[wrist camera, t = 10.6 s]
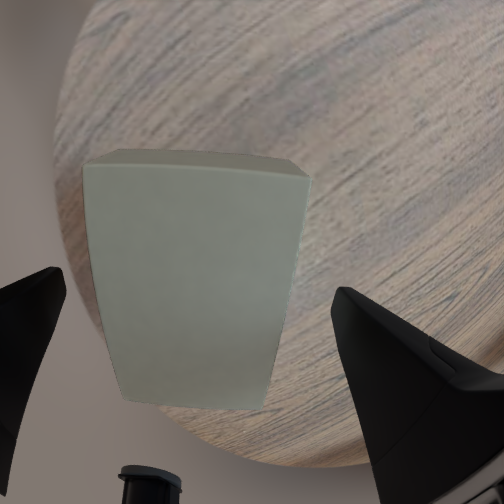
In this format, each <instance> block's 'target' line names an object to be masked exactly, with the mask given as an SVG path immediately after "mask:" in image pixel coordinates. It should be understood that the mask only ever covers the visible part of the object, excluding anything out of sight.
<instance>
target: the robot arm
mask: <svg viewBox="0 0 504 504" xmlns="http://www.w3.org/2000/svg"><path fill="white" fill-rule="evenodd" d="M65 297H66V285H65V281H64V276H63V272H62V270H61V268H59V267H48V268H46V269H43V270H41V271H39V272H37V273H34V274H32V275H30V276H27V277H25V278H23V279H21V280H18V281H16V282H14V283H12V284H10V285H7V286H5V287H3V288H1V289H0V494H1V495H3V496H6V493H7V487H8V480H9V474H10V468H11V464H12V459H13V454H14V450H15V446H16V439H17V437H18V433H19V429H20V425H21V422H22V418H23V415H24V411H25V408H26V405H27V402H28V399H29V396H30V393H31V390H32V387H33V384H34V381H35V378H36V375H37V373H38V370H39V367H40V365H41V362H42V359H43V357H44V354H45V352H46V349H47V347H48V345H49V342H50V340H51V337H52V335H53V332H54V330H55V327H56V324H57V320H58V317H59V314H60V311H61V309H62V306H63V303H64V300H65ZM331 318H332V322H333V327H334V332H335V337H336V342H337V347H338V352H339V355H340V359H341V362H342V365H343V368H344V371H345V375H346V378H347V381H348V384H349V388H350V391H351V394H352V398H353V401H354V404H355V408H356V411H357V415H358V418H359V422H360V425H361V429H362V432H363V436H364V440H365V443H366V447H367V451H368V454H369V458H370V462H371V466H372V470H373V474H374V478H375V482H376V487H377V490H378V494H379V499H380V503H381V504H504V374H498V373H495V372H492V371H490V370H488V369H486V368H484V367H483V366H481V365H479V364H477V363H475V362H473V361H472V360H470V359H468V358H466V357H464V356H462V355H461V354H459V353H457V352H455V351H454V350H452V349H450V348H448V347H447V346H445V345H444V344H442V343H440V342H439V341H437V340H435V339H434V338H432V337H431V336H429V337H428V335H427V334H426V333H424V332H423V331H421V330H419V329H418V328H416V327H415V326H413V325H411V324H410V323H408V322H407V321H405V320H403V319H402V318H400V317H399V316H397V315H395V314H394V313H392V312H390V311H389V310H387V309H386V308H384V307H382V306H381V305H379V304H377V303H376V302H374V301H373V300H371V299H369V298H368V297H366V296H364V295H363V294H361V293H359V292H358V291H356V290H354V289H353V288H351V287H339V288H337V290H336V293H335V297H334V300H333V303H332V306H331ZM118 478H120V479H122V480H123V481H125V483H124V490H123V498H122V504H179V493H182V490H181V489H180V488H178V487H177V486H175V485H173V484H172V483H170V482H168V481H167V480H165V479H164V478H162V477H160V476H149V475H127V474H118Z"/></svg>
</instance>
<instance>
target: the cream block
mask: <svg viewBox="0 0 504 504" xmlns="http://www.w3.org/2000/svg"><path fill="white" fill-rule="evenodd" d="M311 185H312V178H311V177H310V176H309V175H307V174H306V173H305V172H304V171H303V170H301V169H300V168H299V167H298V166H296V165H295V164H294V163H293V162H291V161H290V160H287V159H279V158H271V157H262V156H252V155H242V154H230V153H218V152H203V151H184V150H153V149H118V150H116V151H113V152H111V153H108V154H106V155H103V156H101V157H99V158H96V159H94V160H92V161H89V162H87V163H85V164H83V165H82V188H83V204H84V216H85V227H86V236H87V244H88V252H89V259H90V266H91V272H92V278H93V284H94V289H95V294H96V300H97V305H98V309H99V314H100V318H101V323H102V327H103V331H104V335H105V339H106V343H107V347H108V351H109V354H110V358H111V361H112V365H113V368H114V372H115V375H116V378H117V381H118V384H119V388H120V391H121V394H122V396H123V399H124V400H129V401H135V402H142V403H149V404H157V405H166V406H176V407H187V408H201V409H222V410H262V408H263V405H264V401H265V397H266V394H267V390H268V386H269V382H270V378H271V374H272V370H273V366H274V362H275V358H276V354H277V350H278V345H279V341H280V337H281V333H282V328H283V324H284V320H285V315H286V311H287V306H288V302H289V297H290V293H291V288H292V283H293V279H294V274H295V269H296V264H297V259H298V254H299V249H300V244H301V239H302V234H303V229H304V223H305V218H306V213H307V207H308V202H309V196H310V190H311Z"/></svg>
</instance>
